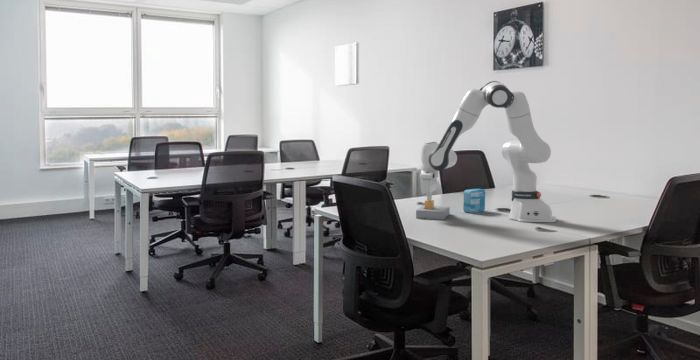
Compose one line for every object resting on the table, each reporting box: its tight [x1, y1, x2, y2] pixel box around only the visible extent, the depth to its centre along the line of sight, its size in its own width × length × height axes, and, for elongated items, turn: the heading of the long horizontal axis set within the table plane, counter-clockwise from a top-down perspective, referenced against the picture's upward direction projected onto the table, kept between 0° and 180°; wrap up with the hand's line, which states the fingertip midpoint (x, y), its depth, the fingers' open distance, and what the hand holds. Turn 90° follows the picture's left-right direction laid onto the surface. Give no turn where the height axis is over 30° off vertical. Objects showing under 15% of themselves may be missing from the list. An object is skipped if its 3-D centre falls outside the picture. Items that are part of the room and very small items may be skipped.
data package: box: [462, 188, 486, 214], centre depth 282 cm, size 12×4×12 cm, turn 124°
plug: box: [424, 199, 435, 209], centre depth 271 cm, size 4×4×8 cm
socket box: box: [415, 204, 451, 221], centre depth 271 cm, size 14×16×4 cm
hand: (429, 200), depth 271 cm, fingers closed
